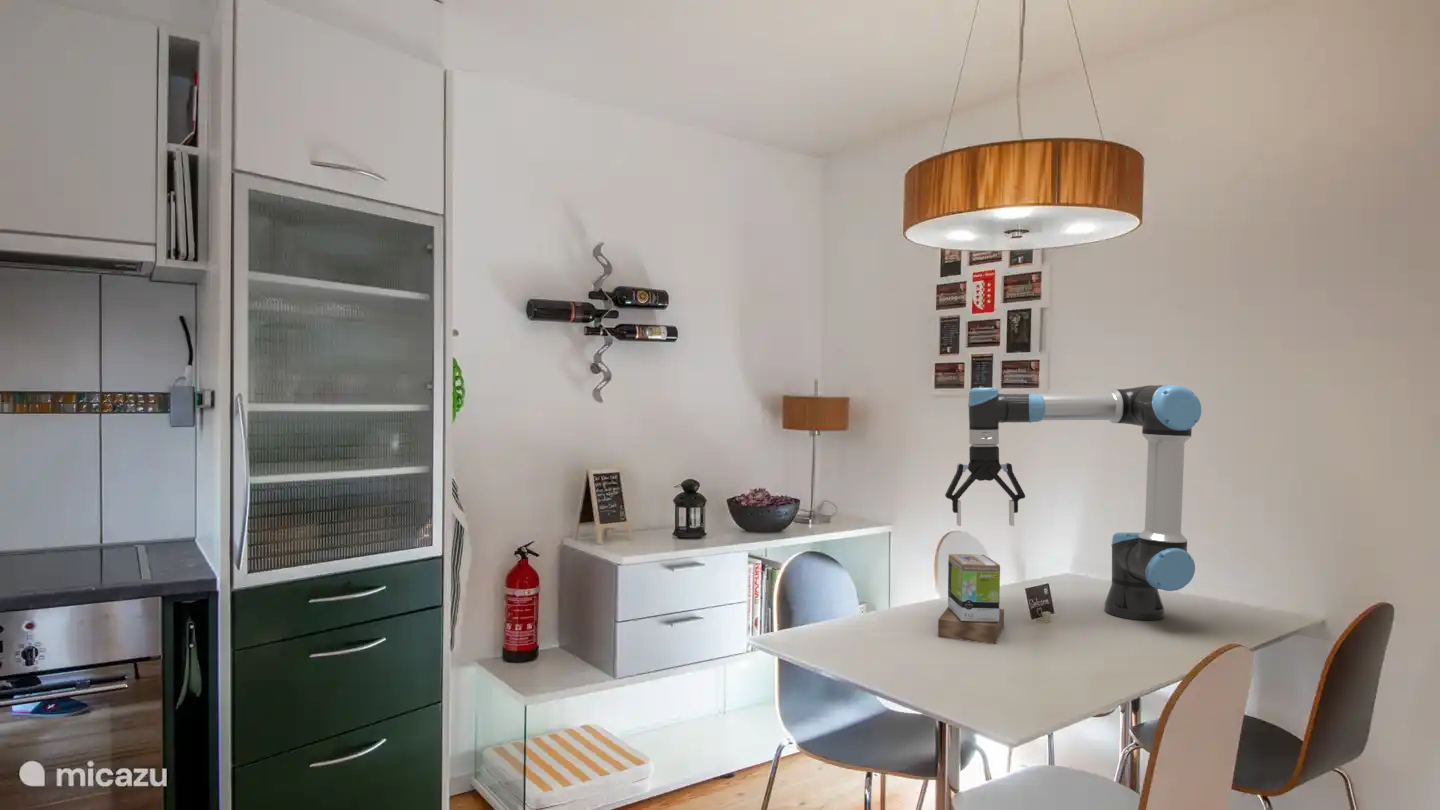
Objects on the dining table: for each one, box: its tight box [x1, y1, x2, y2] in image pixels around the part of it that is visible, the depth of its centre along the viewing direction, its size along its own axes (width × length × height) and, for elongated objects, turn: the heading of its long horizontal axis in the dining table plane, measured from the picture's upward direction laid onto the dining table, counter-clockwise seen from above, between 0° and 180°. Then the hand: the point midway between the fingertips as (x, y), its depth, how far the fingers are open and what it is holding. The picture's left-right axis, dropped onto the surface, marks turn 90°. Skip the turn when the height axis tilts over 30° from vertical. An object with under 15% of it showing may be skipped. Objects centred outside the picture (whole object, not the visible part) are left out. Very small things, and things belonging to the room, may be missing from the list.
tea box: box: [947, 553, 1001, 622], centre depth 218 cm, size 15×10×15 cm, turn 178°
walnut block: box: [937, 606, 1005, 645], centre depth 218 cm, size 14×18×5 cm
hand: (985, 525), depth 222 cm, fingers open, 13 cm apart
